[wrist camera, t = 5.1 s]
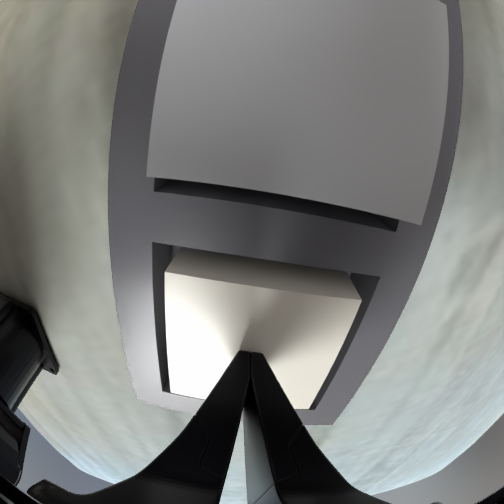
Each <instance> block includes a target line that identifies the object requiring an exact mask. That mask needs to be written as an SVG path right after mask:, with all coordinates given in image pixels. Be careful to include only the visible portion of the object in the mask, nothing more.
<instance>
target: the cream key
mask: <svg viewBox="0 0 504 504" xmlns="http://www.w3.org/2000/svg"><path fill="white" fill-rule="evenodd" d="M361 301H362V299H361V297H360V296H359V294H358V292H357V290H356V288H355V286H354V285H353V283H352V281H351V279H350V277H349V276H348V274H347V272H345V271H338V270H332V269H325V268H318V267H311V266H305V265H298V264H292V263H285V262H278V261H272V260H265V259H259V258H252V257H246V256H239V255H233V254H226V253H220V252H213V251H207V250H200V249H194V248H188V247H181V248H180V249H179V251H178V252H177V254H176V255H175V257H174V258H173V260H172V261H171V263H170V264H169V266H168V267H167V269H166V270H165V320H166V340H167V356H168V369H169V380H170V390H171V393H175V394H179V395H184V396H189V397H194V398H200V399H206V398H207V396H208V395H209V394H210V392H211V391H212V389H213V388H214V386H215V385H216V383H217V382H218V380H219V379H220V377H221V376H222V374H223V373H224V371H225V370H226V368H227V367H228V365H229V364H230V362H231V361H232V359H233V358H234V356H235V355H236V353H237V352H238V351H239V350H244V351H249V352H250V353H251V352H260V353H263V355H264V356H265V358H266V360H267V362H268V364H269V365H270V367H271V369H272V371H273V373H274V374H275V376H276V378H277V380H278V381H279V383H280V385H281V387H282V388H283V390H284V392H285V394H286V395H287V397H288V399H289V401H290V402H291V404H292V406H293V408H294V409H309V407H310V406H311V404H312V402H313V400H314V399H315V397H316V395H317V393H318V392H319V390H320V388H321V386H322V384H323V382H324V381H325V379H326V377H327V375H328V373H329V371H330V369H331V367H332V365H333V363H334V361H335V359H336V357H337V355H338V353H339V351H340V349H341V347H342V345H343V343H344V340H345V338H346V336H347V334H348V332H349V329H350V327H351V325H352V323H353V320H354V318H355V316H356V313H357V311H358V309H359V306H360V304H361Z"/></svg>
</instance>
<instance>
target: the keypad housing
mask: <svg viewBox="0 0 504 504" xmlns="http://www.w3.org/2000/svg"><path fill="white" fill-rule="evenodd" d="M439 1H440V2H442V3H444V4H445V5H446V7H447V18H448V33H449V75H448V91H447V103H446V112H445V120H444V127H443V134H442V140H441V146H440V152H439V157H438V162H437V167H436V171H435V176H434V180H433V184H432V188H431V192H430V196H429V200H428V203H427V207H426V210H425V214H424V217H423V220H422V224H421V225H418V224H414V223H410V222H406V221H403V220H399V219H395V218H391V217H387V216H383V215H379V214H374V213H370V212H366V211H362V210H357V209H353V208H348V207H344V206H339V205H334V204H329V203H324V202H319V201H314V200H309V199H304V198H299V197H293V196H288V195H282V194H276V193H270V192H264V191H258V190H252V189H245V188H239V187H232V186H225V185H217V184H210V183H202V182H194V181H185V180H176V179H166V178H156V177H146V174H147V160H148V149H149V139H150V130H151V122H152V114H153V107H154V100H155V94H156V88H157V82H158V77H159V71H160V66H161V61H162V57H163V52H164V48H165V43H166V39H167V35H168V31H169V27H170V23H171V20H172V16H173V12H174V9H175V6H176V2H177V0H139V1H138V4H137V7H136V10H135V13H134V17H133V20H132V23H131V27H130V31H129V34H128V38H127V42H126V46H125V50H124V55H123V59H122V64H121V69H120V74H119V79H118V85H117V91H116V97H115V104H114V112H113V120H112V129H111V140H110V154H109V174H108V223H109V244H110V258H111V269H112V279H113V287H114V295H115V302H116V309H117V316H118V322H119V327H120V333H121V338H122V343H123V348H124V353H125V357H126V362H127V366H128V370H129V374H130V378H131V382H132V386H133V390H134V393H135V397H136V400H137V401H140V402H144V403H148V404H151V405H155V406H159V407H163V408H168V409H172V410H176V411H181V412H186V413H191V414H196V412H197V411H198V409H199V408H200V407H201V405H202V404H203V402H204V401H205V399H200V398H194V397H189V396H184V395H179V394H175V393H171V390H170V380H169V369H168V356H167V340H166V320H165V270H166V269H167V267H168V266H169V264H170V263H171V261H172V260H173V258H174V257H175V255H176V254H177V252H178V251H179V249H180V248H181V247H188V248H194V249H200V250H207V251H213V252H220V253H226V254H233V255H239V256H246V257H252V258H259V259H265V260H272V261H278V262H285V263H292V264H298V265H305V266H311V267H318V268H325V269H332V270H338V271H345V272H347V274H348V276H349V277H350V279H351V281H352V283H353V285H354V286H355V288H356V290H357V292H358V294H359V296H360V297H361V299H362V301H361V304H360V306H359V309H358V311H357V313H356V316H355V318H354V320H353V323H352V325H351V327H350V329H349V332H348V334H347V336H346V338H345V340H344V343H343V345H342V347H341V349H340V351H339V353H338V355H337V357H336V359H335V361H334V363H333V365H332V367H331V369H330V371H329V373H328V375H327V377H326V379H325V381H324V382H323V384H322V386H321V388H320V390H319V392H318V393H317V395H316V397H315V399H314V400H313V402H312V404H311V406H310V407H309V409H295V411H296V413H297V414H298V416H299V418H300V419H301V421H302V423H303V425H332V424H333V423H334V422H335V421H336V419H337V418H338V417H339V415H340V414H341V413H342V411H343V410H344V409H345V407H346V406H347V404H348V403H349V402H350V400H351V399H352V397H353V396H354V394H355V393H356V391H357V390H358V388H359V387H360V385H361V384H362V382H363V381H364V379H365V378H366V376H367V374H368V373H369V371H370V370H371V368H372V366H373V365H374V363H375V361H376V360H377V358H378V356H379V355H380V353H381V351H382V349H383V348H384V346H385V344H386V342H387V340H388V339H389V337H390V335H391V333H392V331H393V329H394V327H395V325H396V323H397V321H398V319H399V317H400V315H401V313H402V311H403V309H404V307H405V305H406V303H407V301H408V299H409V296H410V294H411V292H412V290H413V287H414V285H415V283H416V280H417V278H418V276H419V273H420V271H421V268H422V266H423V263H424V260H425V258H426V255H427V252H428V250H429V247H430V244H431V241H432V238H433V235H434V232H435V229H436V226H437V223H438V220H439V217H440V213H441V210H442V206H443V203H444V199H445V195H446V191H447V187H448V183H449V179H450V175H451V170H452V165H453V160H454V155H455V149H456V144H457V137H458V130H459V123H460V114H461V103H462V89H463V39H462V25H461V16H460V8H459V1H458V0H439ZM240 421H243V412H242V416H241V420H240Z"/></svg>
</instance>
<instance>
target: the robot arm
mask: <svg viewBox="0 0 504 504" xmlns="http://www.w3.org/2000/svg"><path fill="white" fill-rule="evenodd" d="M42 369H44V370H46V371H48V372H50V373H52V374H55V375H57V373H58V372H59V368H58V366H57V364H56V362H55V360H54V357H53V355H52V353H51V350H50V348H49V346H48V343H47V341H46V338H45V335H44V333H43V330H42V327H41V325H40V322H39V319H38V316H37V313H36V312H35V310H34V309H33V308H32V307H30V306H27V305H25V304H23V303H20V302H18V301H16V300H14V299H11V298H9V297H7V296H5V295H3V294H1V293H0V504H41V503H42V504H219V502H220V498H221V494H222V490H223V487H224V483H225V479H226V475H227V472H228V468H229V464H230V460H231V456H232V452H233V448H234V444H235V440H236V436H237V432H238V428H239V424H240V420H241V416H242V412H243V424H244V446H245V466H246V485H247V502H248V504H391V503H388V502H385V501H383V500H380V499H377V498H375V497H373V496H370V495H368V494H366V493H363V492H361V491H359V490H358V489H356V488H354V487H353V486H352V485H350V484H349V483H348V482H347V481H346V480H345V479H344V477H343V476H342V475H341V474H340V473H339V472H338V471H337V469H336V468H335V467H334V466H333V465H332V464H331V462H330V461H329V460H328V459H327V458H326V456H325V455H324V454H323V453H322V451H321V450H320V449H319V447H318V446H317V445H316V443H315V442H314V440H313V439H312V437H311V436H310V434H309V433H308V431H307V429H306V428H305V426H304V425H303V423H302V421H301V419H300V418H299V416H298V414H297V413H296V411H295V409H294V408H293V406H292V404H291V402H290V401H289V399H288V397H287V395H286V394H285V392H284V390H283V388H282V387H281V385H280V383H279V381H278V380H277V378H276V376H275V374H274V373H273V371H272V369H271V367H270V365H269V364H268V362H267V360H266V358H265V356H264V355H263V353H260V352H251V353H250V352H249V351H244V350H239V351H238V352H237V353H236V355H235V356H234V358H233V359H232V361H231V362H230V364H229V365H228V367H227V368H226V370H225V371H224V373H223V374H222V376H221V377H220V379H219V380H218V382H217V383H216V385H215V386H214V388H213V389H212V391H211V392H210V394H209V395H208V396H207V398H206V399H205V401H204V402H203V404H202V405H201V407H200V408H199V409H198V411H197V412H196V414H195V415H194V416H193V418H192V419H191V420H190V422H189V423H188V425H187V426H186V427H185V428H184V430H183V431H182V432H181V433H180V434H179V436H178V437H177V438H176V439H175V440H174V441H173V442H172V443H171V444H170V445H169V446H168V447H167V448H166V449H165V450H164V451H163V452H162V453H161V454H160V455H159V456H158V457H156V458H155V459H154V460H153V461H152V462H151V463H150V464H149V465H148V466H147V467H145V468H144V469H143V470H142V471H140V472H139V473H137V474H136V475H134V476H132V477H130V478H128V479H126V480H124V481H121V482H119V483H117V484H114V485H112V486H109V487H107V488H104V489H102V490H99V491H96V492H94V493H91V494H85V495H84V494H82V495H80V494H74V493H71V492H68V491H67V490H65V489H63V488H61V487H59V486H57V485H56V484H54V483H52V482H50V481H48V480H42V481H40V482H38V483H36V484H35V485H33V486H31V487H30V488H29V489H28V490H27V493H28V494H29V495H30V496H31V497H30V496H29V495H27V494H26V493H24V492H23V491H22V490H20V489H19V488H18V487H16V486H17V484H18V483H19V481H20V478H21V475H22V470H23V463H24V458H25V452H26V447H27V442H28V438H29V434H30V428H29V427H28V426H27V425H26V424H25V423H24V422H22V421H21V420H20V419H19V418H18V417H17V416H16V415H15V414H14V412H15V411H16V409H17V408H18V406H19V404H20V403H21V401H22V399H23V398H24V396H25V395H26V393H27V391H28V390H29V388H30V387H31V385H32V384H33V382H34V381H35V379H36V378H37V376H38V375H39V373H40V372H41V370H42ZM32 497H33V498H34V499H33V498H32ZM36 500H37V501H36ZM39 502H40V503H39ZM431 504H442V503H440V502H434V503H431ZM475 504H504V486H502V487H501V488H499V489H498V490H496V491H495V492H493V493H492V494H490V495H488V496H487V497H485V498H483V499H482V500H480V501H478V502H477V503H475Z"/></svg>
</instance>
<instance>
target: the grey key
mask: <svg viewBox="0 0 504 504" xmlns="http://www.w3.org/2000/svg"><path fill="white" fill-rule="evenodd" d="M448 75H449V33H448V18H447V7H446V5H445V4H444V3H442V2H440V1H439V0H177V2H176V6H175V9H174V12H173V16H172V20H171V23H170V27H169V31H168V35H167V39H166V43H165V48H164V52H163V57H162V61H161V66H160V71H159V77H158V82H157V88H156V94H155V100H154V107H153V114H152V122H151V130H150V139H149V149H148V160H147V174H146V177H156V178H166V179H176V180H185V181H194V182H202V183H210V184H217V185H225V186H232V187H239V188H245V189H252V190H258V191H264V192H270V193H276V194H282V195H288V196H293V197H299V198H304V199H309V200H314V201H319V202H324V203H329V204H334V205H339V206H344V207H348V208H353V209H357V210H362V211H366V212H370V213H374V214H379V215H383V216H387V217H391V218H395V219H399V220H403V221H406V222H410V223H414V224H418V225H421V224H422V220H423V217H424V214H425V210H426V207H427V203H428V200H429V196H430V192H431V188H432V184H433V180H434V176H435V171H436V167H437V162H438V157H439V152H440V146H441V140H442V134H443V127H444V120H445V112H446V103H447V91H448Z"/></svg>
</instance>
